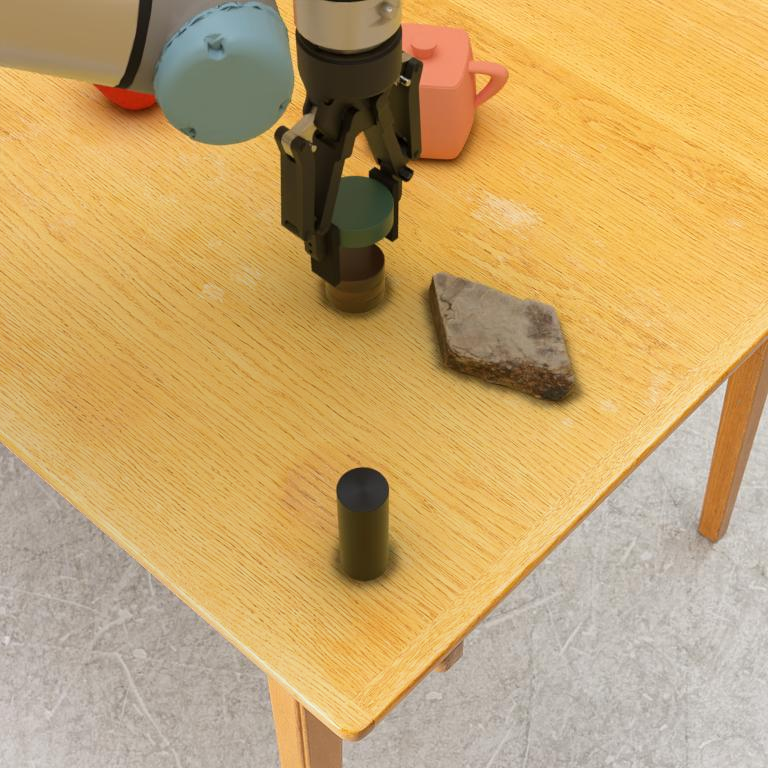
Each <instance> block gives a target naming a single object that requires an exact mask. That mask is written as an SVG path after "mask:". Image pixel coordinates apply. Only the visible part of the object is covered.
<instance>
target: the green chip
mask: <svg viewBox="0 0 768 768" xmlns="http://www.w3.org/2000/svg"><path fill="white" fill-rule="evenodd" d="M393 219H394V202H393V197H392V194H391V192H390V191H389V190H388V188H387V187H386V186H384V185H383V184H382V183H380V182H379V181H377V180H374V179H372V178H369V176H362V175H347V176H341V181H340V185H339V189H338V194H337V198H336V203H335V207H334V212H333V216H332V221H331V222H332V223H333V224H335V225H336V226H337V227H338V233H339V246H342V247H348V248H360V247H366V246H370V245H373V244H377V243H379V242H380V241H382V240H383V239H384V238H385V237H386V235H387V234H388V233H389V232H390V230H391V228H392V226H393Z"/></svg>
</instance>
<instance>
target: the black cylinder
mask: <svg viewBox="0 0 768 768" xmlns="http://www.w3.org/2000/svg"><path fill="white" fill-rule="evenodd" d="M335 491H336V493H335V494H336V509H337V511H336V512H337V526H338V527H337V528H338V544H339V563H340V566H341V567H340V568H341V569H342V571H343V573H344V574H345V575H346V576H348V577H349V578H351V579H352V580H355V581H360V582H370V581H373V580H376V579H377V578H379V577H381V576H382V575H383V574H384V573H385V571H386V570H387V568H388V565H389V556H390V555H389V554H390V553H389V549H390V547H389V545H390V544H389V542H390V484H389V482H388V480H387V478H386V477H385V476H384V475H383V473H381V472H380V471H379V470H377V469H375V468H371V467H367V466H359V467H355V468H354V467H353V468H351V469H349V470H347V471H346V472H345V473H343V474H342V475H341V476H340V478H339V479H338V481H337V483H336V487H335Z"/></svg>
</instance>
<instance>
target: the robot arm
mask: <svg viewBox="0 0 768 768" xmlns="http://www.w3.org/2000/svg"><path fill="white" fill-rule="evenodd" d="M292 8H293V9H292V11H293V24H294V26H295V30H294V31H295V32H294V35H295V37H294V39H295V49H296V50H295V51H296V62H297V63H296V64H297V71H298V73H299V77H300V79H301V83H302V84H303V86H304V89H305V99H304V102H303V106H302V111H301V113H302V117H301V118H300V119H299V120H298V121H297V122H296V123H295V124H294V125H293V126H292V127H291V128H290V127H289V128H288V127H287V126H285V125H280V126H279V127H277V128H276V129H275V131H274V134H273V139H274V142H275V143H276V146H277V149H278V150H279V156H280V157H279V158H280V159H279V160H280V161H279V162H280V166H279V167H280V224H281V226H282V227H283V228H284V229H286V230H287V231H288V232H290V233H291V234H292V235H294V236H295V237H297V238H298V239H300V240H301V241H303V245H304V251H305V253H306V254H308V255H309V256H310V264H311V265H310V266H311V267H310V268H311V269H310V270H311V272H312V273H314V274H315V275H316V276H318V277H319V278H320V279H322V280H323V281H324V282H325V283H326V282H328V283H329V284H331V285H332V286H333V287H335V286H337V285H338V284H339V283H341V278H340V255H339V233H338V227H337V226H336V225H335V224H333V223H332V222H331V221H332V216H333V212H334V207H335V203H336V198H337V194H338V189H339V185H340V181H341V177H343V176H342V175H343V171H344V167H345V163H346V160H347V159H349V158H351V157H352V155H353V151H354V147H355V142H356V139H357V137H358V136H359V135H360V134H361V133H363V135H364V137H365V139H366V142H367V145H368V147H369V149H370V152H371V154H372V157H373V160H374V161H375V164H376V165H377V166H379V168H378V167H377V166H373V167H372V168H371V169H369V170H368V177H369V178H372V179H374V180H377V181H379V182H380V183H382V184H383V185H384V186H386V187H387V188H388V190H389V191H390V192H391V194H392V197H393V202H394V219H393V226H392V228H391V230H390V232H389V233H388V234H387V235H386V237H384V238H385V239H386V240H388V241H389V242H391V243H393V242H395V241H396V240H398V239H399V214H400V213H399V212H400V211H399V208H400V207H399V206H400V204H399V203H400V201H401V200H402V196H403V182H404V183H409V182H410V181H411V180H412V179H413V177H414V173H415V170H414V169H412V168H410V167H409V166H408V165H407V164H408V163H409V162H410V161H413V162H416V161H418V160H419V159H420V156H421V153H422V143H421V121H420V100H419V84H420V79H421V75H422V70H423V62H422V61H420V60H418V59H417V58H415V57H413V56H411V55H410V54H408V53H406V52H404V51H403V50H402V26H401V23H402V16H403V0H292ZM290 47H291V45H290V37H289V29H288V28H287V25H286V23H285V21H284V19H283V17H282V15H281V13H280V9H279V6H278V3H277V1H276V0H0V68H7V69H11V70H17V71H24V72H28V73H32V74H33V73H34V74H39V75H45V76H50V77H55V78H61V79H66V80H72V81H78V82H84V83H87V84H92V85H93V84H99V85H104V86H110V87H115V88H120V89H126V90H130V91H134V92H139V93H145V94H151V95H155V99H156V102H155V103H156V104H157V105H158V106H159V108H161V109H160V110H161V112H162V114H163V116H164V117H165V119H166V120H167V121H168V123H169V124H170V125H171V126H172V127H173V128H174V129H176V130H177V131H179V132H180V133H181V134H183V135H185V136H186V137H188V138H189V139H191V140H192V141H194V142H198V143H200V144H204V145H209V146H231V145H237V144H241V143H245V142H248V141H251V140H254V139H256V138H258V137H259V136H261V135H263V134H265V133H266V132H268V131H269V130H270V129H271V128H272V127H274V126H275V125H276V124H277V122H278V121H280V119H281V118H282V117H283V115H284V114H285V113H286V111H287V109H288V106H289V105H290V103H291V102H292V98H293V97H292V96H293V93H294V88H295V71H294V70H295V69H294V64H293V59H292V53H291V48H290Z"/></svg>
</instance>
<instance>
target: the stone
mask: <svg viewBox="0 0 768 768" xmlns="http://www.w3.org/2000/svg"><path fill="white" fill-rule="evenodd" d="M428 301H429V306H430V310H431V313H432V318H433V323H434V327H435V331H436V335H437V339H438V344H439V349H440V353H441V358H442V362H443V365H444V367H446V368H449V369H453V370H454V371H455V370H456V371H460V372H461V373H464V374H468V375H472V376H474V377H477V378H479V379H481V380H482V381H484V382H486V383H491V384H497V385H502V386H504V387H508V388H509V389H512V390H515V391H518V392H520V393H522V394H526V395H529V396H531V397H534V398H537V399H541V400H549V401H550V400H551V401H552V400H553V401H557V402H560V401H563V400H564V399H566V398H567V397H568V396H569V395H571V394H573V392H574V390H575V382H576V378H575V374H574V370H573V367H572V363H571V359H570V356H569V353H568V350H567V347H566V342H565V339H564V337H563V331H562V328H561V325H560V324H561V323H560V321H559V317H558V314H557V311H556V308H555V306H553V305H550V304H547V303H544V302H542V301H539V300H536V299H532V298H529V297H528V298H526V299H521V298H520V297H516V296H514V295H512V294H509V293H506V292H504V291H502V290H499V289H496V288H493V287H491V286H489V285H487V284H482V283H481V282H478V281H477V282H475V281H472V280H470V279H466V278H463V277H460V276H455V275H452V274H450V273H447V272H444V271H439V272H436V273H434V274H433V275H432V276H431V281H430V285H429V288H428Z"/></svg>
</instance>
